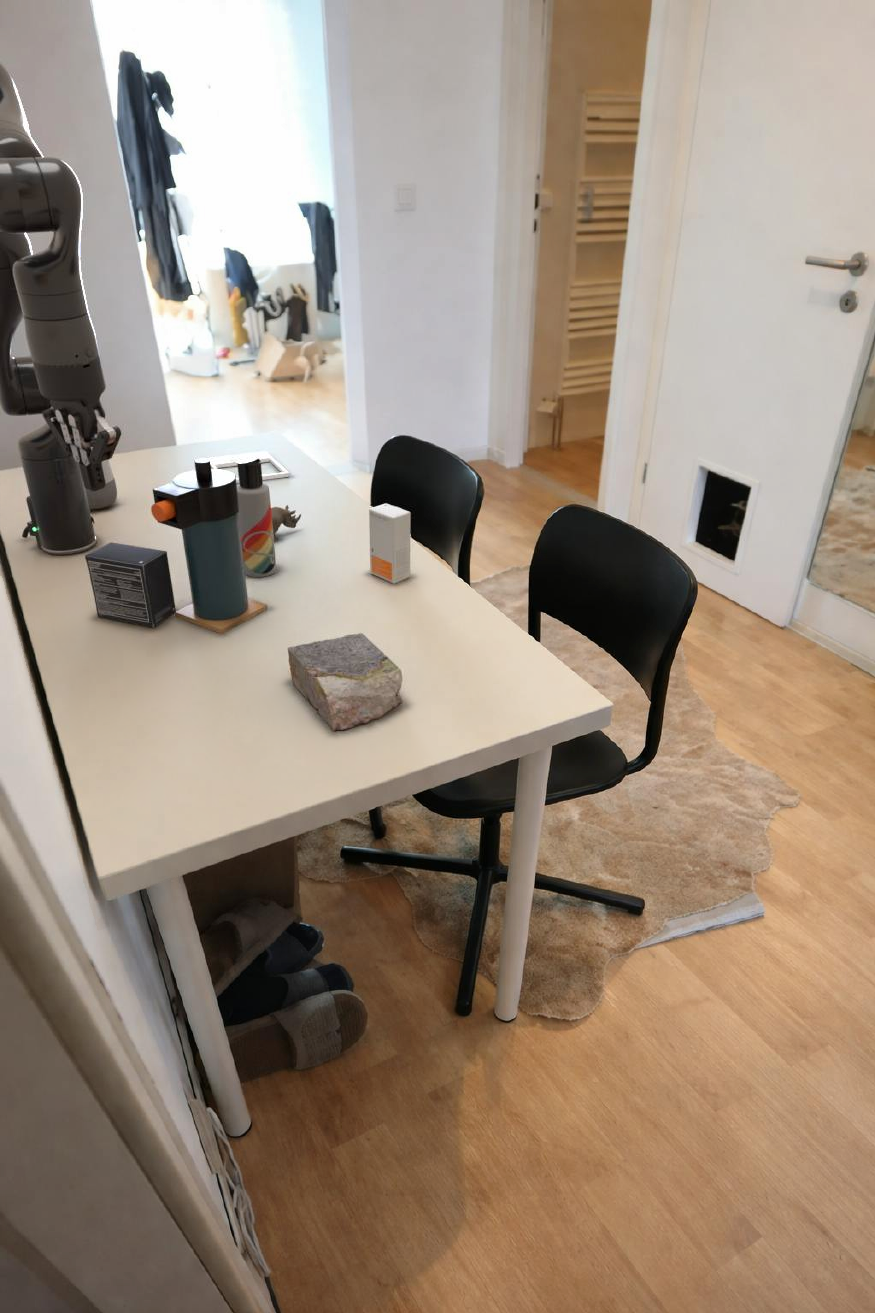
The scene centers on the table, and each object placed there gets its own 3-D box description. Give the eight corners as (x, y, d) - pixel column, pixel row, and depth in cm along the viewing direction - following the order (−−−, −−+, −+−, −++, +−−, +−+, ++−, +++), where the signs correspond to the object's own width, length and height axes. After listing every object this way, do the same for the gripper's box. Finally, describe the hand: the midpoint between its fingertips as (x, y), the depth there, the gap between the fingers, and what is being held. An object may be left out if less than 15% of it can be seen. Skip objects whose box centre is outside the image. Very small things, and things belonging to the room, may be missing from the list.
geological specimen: (357, 627, 116) (410, 671, 105) (358, 666, 119) (410, 712, 107) (285, 644, 111) (332, 691, 100) (288, 683, 114) (334, 734, 102)
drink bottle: (205, 634, 122) (183, 479, 110) (165, 618, 126) (139, 467, 114) (261, 605, 131) (246, 458, 119) (221, 591, 135) (203, 448, 123)
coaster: (221, 634, 124) (220, 629, 124) (175, 616, 129) (174, 611, 128) (267, 609, 131) (267, 604, 131) (222, 593, 136) (221, 588, 135)
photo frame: (265, 450, 201) (288, 471, 187) (266, 454, 201) (289, 476, 188) (205, 457, 195) (224, 480, 181) (206, 462, 196) (225, 484, 182)
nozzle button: (165, 523, 114) (162, 505, 112) (152, 519, 115) (149, 501, 114) (182, 517, 116) (179, 499, 115) (169, 513, 117) (166, 495, 116)
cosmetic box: (369, 574, 143) (367, 508, 137) (387, 567, 146) (386, 502, 140) (393, 584, 140) (393, 517, 134) (411, 577, 142) (411, 511, 136)
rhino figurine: (308, 532, 159) (306, 503, 156) (245, 550, 151) (242, 519, 148) (297, 526, 162) (294, 497, 159) (234, 543, 154) (230, 513, 151)
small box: (179, 611, 130) (169, 549, 125) (154, 629, 125) (142, 565, 120) (123, 600, 133) (111, 539, 128) (96, 617, 128) (82, 555, 122)
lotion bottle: (269, 579, 141) (258, 464, 131) (237, 576, 142) (224, 461, 132) (281, 566, 146) (271, 454, 135) (250, 562, 146) (239, 451, 136)
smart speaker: (129, 504, 171) (117, 436, 164) (91, 517, 164) (77, 447, 157) (99, 495, 175) (86, 429, 168) (61, 507, 169) (46, 439, 161)
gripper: (2, 349, 98) (39, 484, 109) (72, 372, 92) (104, 512, 103) (58, 335, 103) (88, 466, 114) (127, 356, 97) (152, 492, 108)
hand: (95, 488), depth 108 cm, fingers closed
